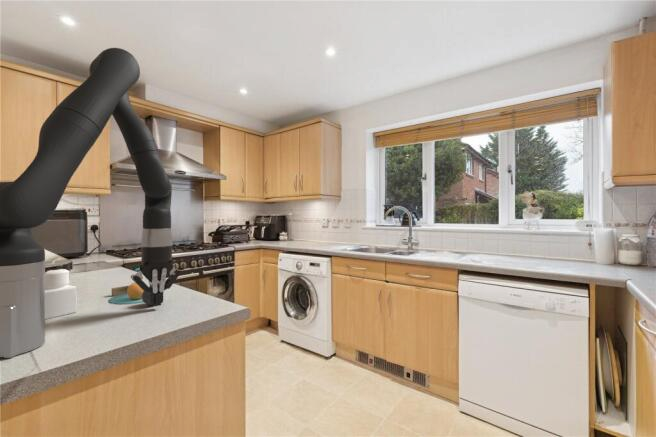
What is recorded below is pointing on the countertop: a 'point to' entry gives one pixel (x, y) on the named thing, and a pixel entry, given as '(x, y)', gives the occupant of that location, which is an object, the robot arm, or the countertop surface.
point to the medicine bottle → (59, 294)
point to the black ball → (146, 297)
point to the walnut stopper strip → (119, 290)
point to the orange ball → (134, 291)
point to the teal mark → (124, 299)
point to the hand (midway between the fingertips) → (156, 305)
